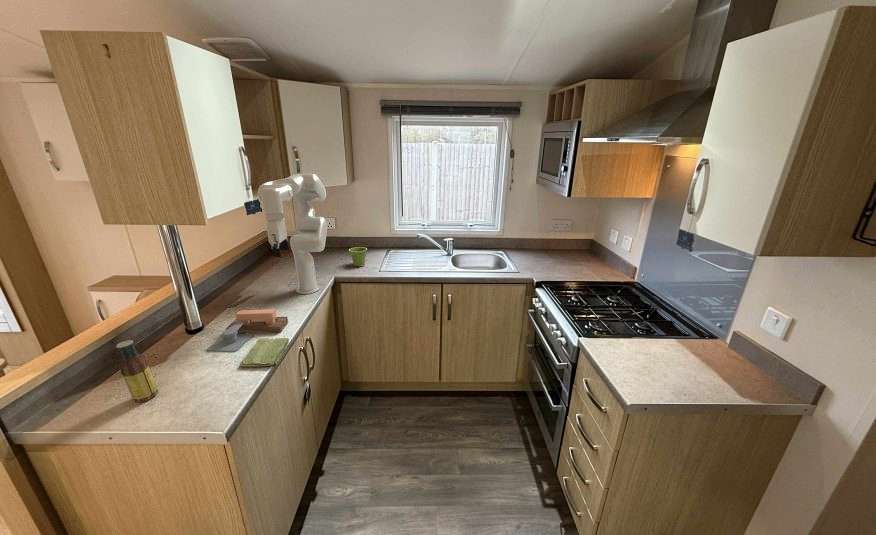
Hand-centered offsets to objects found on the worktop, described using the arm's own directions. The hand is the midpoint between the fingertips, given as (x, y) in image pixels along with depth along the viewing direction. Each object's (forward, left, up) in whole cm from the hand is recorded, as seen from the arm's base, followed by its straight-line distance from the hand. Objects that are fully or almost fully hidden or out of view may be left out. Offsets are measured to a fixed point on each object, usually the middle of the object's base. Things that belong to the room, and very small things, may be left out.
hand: (281, 253), depth 153 cm
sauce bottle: (+59, -25, -29) cm, 70 cm away
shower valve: (+27, -14, -30) cm, 42 cm away
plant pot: (-65, +23, -29) cm, 75 cm away
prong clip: (+17, -8, -29) cm, 34 cm away
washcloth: (+37, +3, -30) cm, 48 cm away
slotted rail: (+17, -8, -29) cm, 34 cm away
